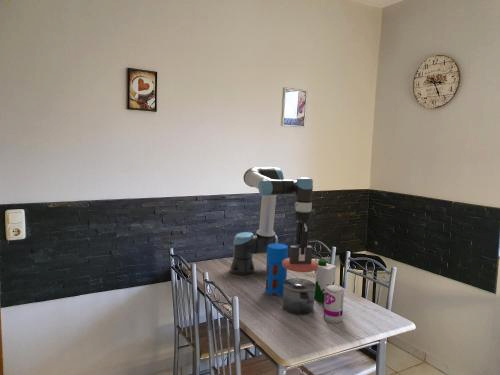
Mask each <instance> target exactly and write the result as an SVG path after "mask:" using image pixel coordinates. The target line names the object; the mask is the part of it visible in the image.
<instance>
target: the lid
mask: <svg viewBox="0 0 500 375" xmlns="http://www.w3.org/2000/svg"><path fill="white" fill-rule="evenodd" d="M312 256H313V246H312V245H307V247H306V248H305V261H299V246H297V245H290V246H289V256H288V258H286V259H284V260H283V261H282V266H283V267H284V268H286V269H287V271H288V270H289V271H292V272H297V273H312V272H316V270H317V269H318V261H316V260H314V259H312V258H313V257H312Z"/></svg>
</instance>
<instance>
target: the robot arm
mask: <svg viewBox="0 0 500 375" xmlns="http://www.w3.org/2000/svg"><path fill="white" fill-rule="evenodd" d="M242 179H243V182H244V184H245V185H246V186H248V187H251V188H256V189H257V190H258V193H259V194H260V196H261V202H260V203H261V204H260V214H259V216H260V217H259V228H258V229H257V230H256V232H255V234H254V233H253V232H251V231H250V232H247V231H245V232H239V233H237V234H236V235H235V236H234V237H233V238H234V239H233V258H232V261H231V264H230V268H229V271H230V273H232V274H233V275H237V276H250V275H252V274H254V273H255V272H256V271H255V270H256V267H255V264H254V260H253V259H254V258H253V255H264V254H265V255H267V247H268V245H269V244H274V243H278V244H279V239H278V236H277V234H276V232H275V231H274V226H275V224H274V223H275V212H276V205H277V204H276V203H277V196H295V203H294V207H295V211H294V219H295V220H297V221H296V222H295V224H296V225H295V226H296V233H295V234H296V236H295V242H296V244H297V245H296V246H299V261H305V248H306V247H307V246H308V238H309V231H310V227H308V221H311V219H312V211H313V210H312V206H313V191H314V190H313V189H314V181H313V178H311V177H306V176H305V177H302V176H301V177H297V179H296V178H292V179H285V178H284V174H283V171H282V169H281V168H280V167H275V166H274V167H273V166H254V167H251V168H248V169H247V170H246V171H245V172H244V174H243V178H242Z"/></svg>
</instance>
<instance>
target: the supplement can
mask: <svg viewBox="0 0 500 375" xmlns="http://www.w3.org/2000/svg"><path fill="white" fill-rule="evenodd" d="M344 295H345V291H344V289H343V286H341V285H338V284H334V285H328V286H327V287H326V289H325V301H324V303H323V319H325V321H327V322H329V323H333V324H336V323H340V322H341V321H343V312H344V311H343V310H344V297H345V296H344Z"/></svg>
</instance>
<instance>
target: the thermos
mask: <svg viewBox="0 0 500 375" xmlns="http://www.w3.org/2000/svg"><path fill="white" fill-rule="evenodd" d="M288 252H289V247H288V245H287V244H284V243H279V242H278V243H274V244H269V245H268V247H267V254H266V266H265V267H266V269H265V270H266V272H265V293H266V294H268V295H270V296H275V297H276V296H277V297H279V296H281V297H282V296H283V281H285V280H287V274H288V269H286V268H284V267H283V266H282V261H283V260H284V259H286V258H289V253H288Z"/></svg>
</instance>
